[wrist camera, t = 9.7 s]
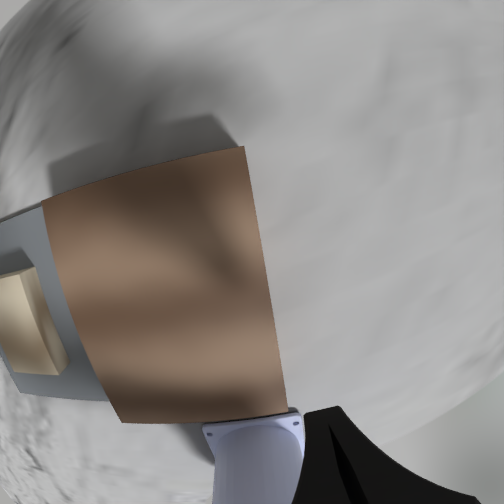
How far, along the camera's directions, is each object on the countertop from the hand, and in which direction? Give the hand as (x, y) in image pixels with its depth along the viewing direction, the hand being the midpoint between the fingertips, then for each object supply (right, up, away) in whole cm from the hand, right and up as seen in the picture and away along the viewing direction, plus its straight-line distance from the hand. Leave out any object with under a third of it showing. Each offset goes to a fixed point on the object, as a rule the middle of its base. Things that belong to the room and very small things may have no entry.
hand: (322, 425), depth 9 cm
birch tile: (-21, +1, +6) cm, 22 cm away
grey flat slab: (-21, +1, +9) cm, 23 cm away
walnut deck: (-8, +4, +9) cm, 12 cm away
